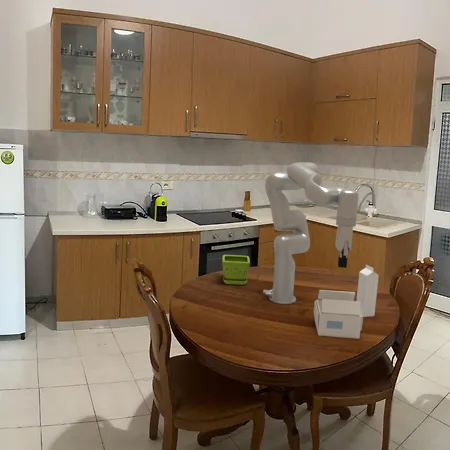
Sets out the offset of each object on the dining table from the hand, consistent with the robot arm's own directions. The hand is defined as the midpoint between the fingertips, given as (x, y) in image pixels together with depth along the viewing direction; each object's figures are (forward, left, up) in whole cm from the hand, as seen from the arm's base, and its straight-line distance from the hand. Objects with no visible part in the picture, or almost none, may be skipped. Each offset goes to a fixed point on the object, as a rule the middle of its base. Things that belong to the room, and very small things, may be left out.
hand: (342, 266), depth 195 cm
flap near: (0, -6, -14) cm, 16 cm away
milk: (+15, +19, -27) cm, 36 cm away
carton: (0, 0, -26) cm, 26 cm away
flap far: (0, +7, -14) cm, 16 cm away
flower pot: (-45, +52, -27) cm, 74 cm away
